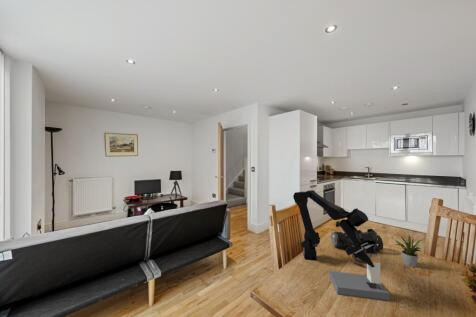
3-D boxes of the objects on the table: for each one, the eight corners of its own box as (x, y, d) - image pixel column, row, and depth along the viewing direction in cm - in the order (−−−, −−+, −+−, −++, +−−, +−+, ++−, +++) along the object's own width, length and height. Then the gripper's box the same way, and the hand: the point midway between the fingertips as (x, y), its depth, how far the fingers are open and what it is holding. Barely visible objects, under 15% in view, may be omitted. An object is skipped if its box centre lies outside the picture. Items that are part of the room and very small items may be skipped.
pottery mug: (376, 267, 102) (373, 256, 99) (361, 275, 101) (357, 264, 99) (359, 251, 113) (356, 241, 111) (346, 258, 113) (342, 248, 111)
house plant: (414, 258, 110) (414, 230, 110) (437, 272, 96) (437, 241, 97) (388, 257, 112) (388, 229, 112) (407, 270, 98) (407, 239, 98)
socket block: (337, 294, 81) (337, 287, 81) (329, 276, 92) (329, 270, 92) (389, 300, 77) (389, 293, 77) (373, 281, 89) (373, 275, 89)
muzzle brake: (383, 254, 115) (383, 238, 115) (334, 250, 120) (334, 234, 120) (375, 247, 124) (375, 232, 124) (330, 243, 130) (330, 229, 130)
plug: (371, 282, 80) (370, 257, 80) (366, 277, 84) (366, 253, 84) (380, 283, 79) (380, 258, 80) (375, 278, 83) (375, 253, 83)
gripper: (352, 226, 81) (381, 264, 71) (374, 220, 90) (402, 253, 80) (335, 238, 87) (359, 274, 78) (356, 230, 97) (381, 262, 87)
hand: (376, 265), depth 81 cm, fingers closed on plug, 5 cm apart
